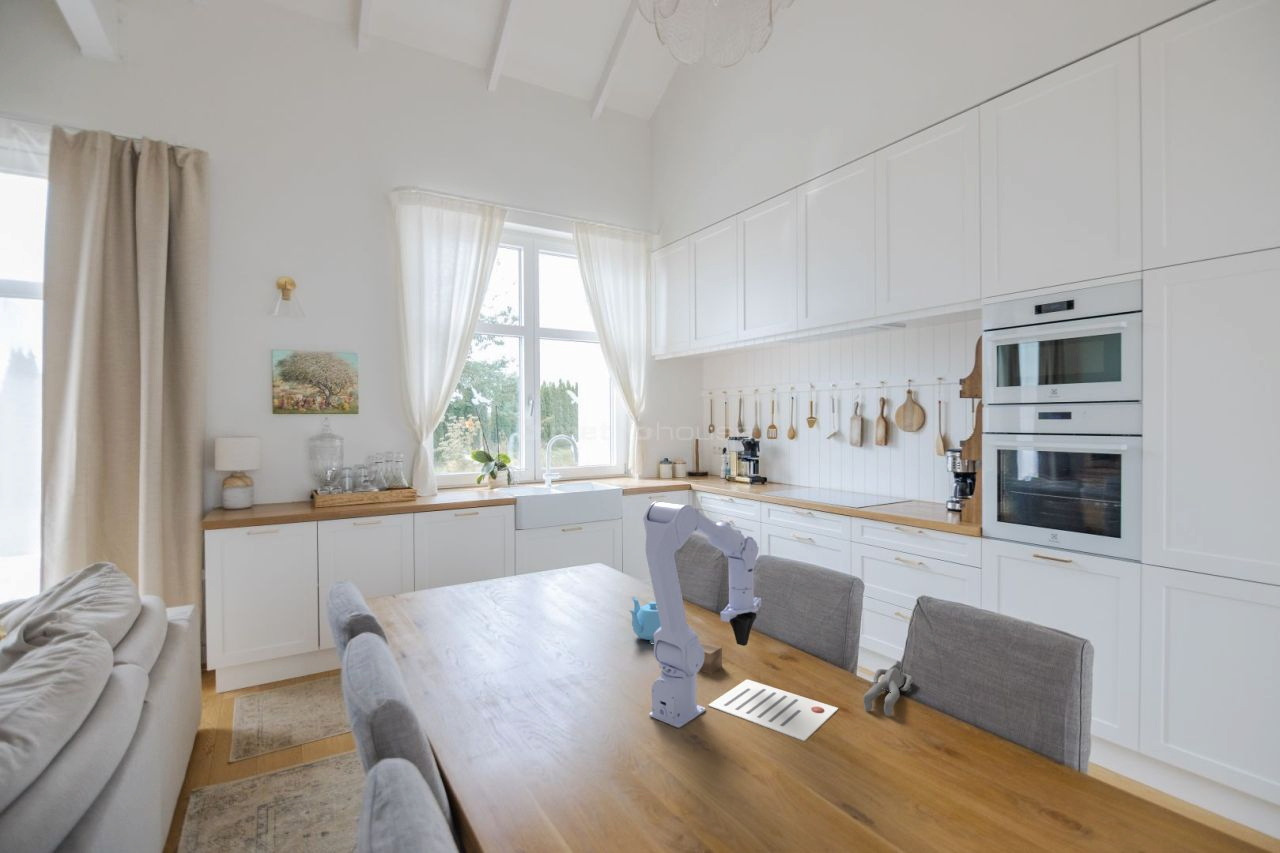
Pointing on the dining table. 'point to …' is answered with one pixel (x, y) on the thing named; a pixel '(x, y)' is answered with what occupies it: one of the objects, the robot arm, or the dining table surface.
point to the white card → (775, 709)
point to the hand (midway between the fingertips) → (742, 644)
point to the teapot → (645, 620)
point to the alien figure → (888, 687)
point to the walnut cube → (711, 658)
